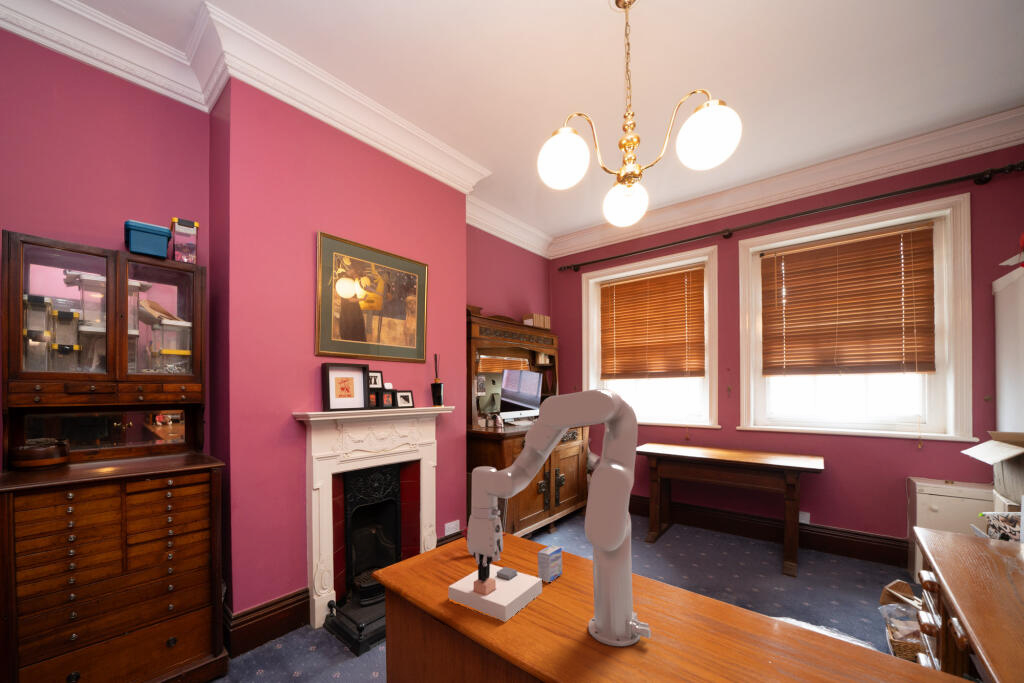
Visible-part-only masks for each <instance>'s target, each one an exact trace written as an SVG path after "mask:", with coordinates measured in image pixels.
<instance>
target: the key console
mask: <svg viewBox="0 0 1024 683" xmlns="http://www.w3.org/2000/svg"><path fill="white" fill-rule="evenodd" d="M502 568H503V567H501V566H498V565H494V564H492V563H491V564H490V575H489V578H492V579H495V580H496V590H495V591H493V592H492V593H490V594H489V595H487V596H484V595H482V594H479V593H476V592H474V581H476V580H477V579H478V569H477V570H474V571H473V572H472V573H469V574H468V575H466V576H464V577H463V578H461V579H459V580H457V581H456V582H453V583H452V584H450V585H449V586H448V598H449V599H452V600H454V601H456V602H459V603H462V604H464V605H467V606H469V607H472V608H474V609H476V610H478V611H481V612H483V613H485V614H488V615H490V616H493V617H496V618H498V619H500V620H502V621H505V622H506V621H507V620H508V619H510V618H511V617H512V616H513V617H514V616H516V615H517V614H518V613H519V612H521V611H522V610H523V609H525V606H526V605H527V604H528V603H529V602H531V601H532V600H533V599H534V598H535V599H537V598H538V597H539V596H540V595H542V594H541V593H543V581H542V579H541V578H538V577H537V576H533V575H530V574H527V573H523V572H519V571H517V576H515V577H514V578H512V579H511V580H509V581H508V580H505V579H501V578H498V577H497V571H499V570H501V569H502ZM539 594H540V595H539ZM538 595H539V596H538ZM537 596H538V597H537ZM536 597H537V598H536ZM535 599H534V600H535ZM534 600H533V601H534ZM533 601H532V602H533ZM532 602H531V603H532ZM529 604H530V603H529ZM529 604H528V605H529ZM528 605H527V606H528ZM527 606H526V607H527ZM522 608H523V609H522ZM521 609H522V610H521ZM520 610H521V611H520ZM518 611H519V612H518ZM517 612H518V613H517ZM516 613H517V614H516ZM515 614H516V615H515ZM513 617H512V618H513ZM512 618H511V619H512ZM511 619H510V620H511ZM500 620H499V621H500ZM502 621H501V622H502ZM508 621H509V620H508ZM508 621H507V622H508ZM505 622H504V623H505ZM507 622H506V623H507Z"/></svg>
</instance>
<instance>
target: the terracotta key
mask: <svg viewBox="0 0 1024 683" xmlns="http://www.w3.org/2000/svg"><path fill="white" fill-rule="evenodd" d="M495 590H496V580H495V579H492V578H488V579H486V580H485V581H481V580H478V579H477V580H476V581H474V592H476V593H479V594H482V595H484V596H487V595H489V594H490V593H492V592H493V591H495Z"/></svg>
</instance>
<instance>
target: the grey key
mask: <svg viewBox="0 0 1024 683" xmlns="http://www.w3.org/2000/svg"><path fill="white" fill-rule="evenodd" d="M517 572H518V570H517V569H515V568H512V567H511V568H510V567H507V566H504V567H502V569H501V570H499V571H497V577H498V578H501V579H505V580H508V581H509V580H511V579H512V578H514V577H515V576H517Z"/></svg>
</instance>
